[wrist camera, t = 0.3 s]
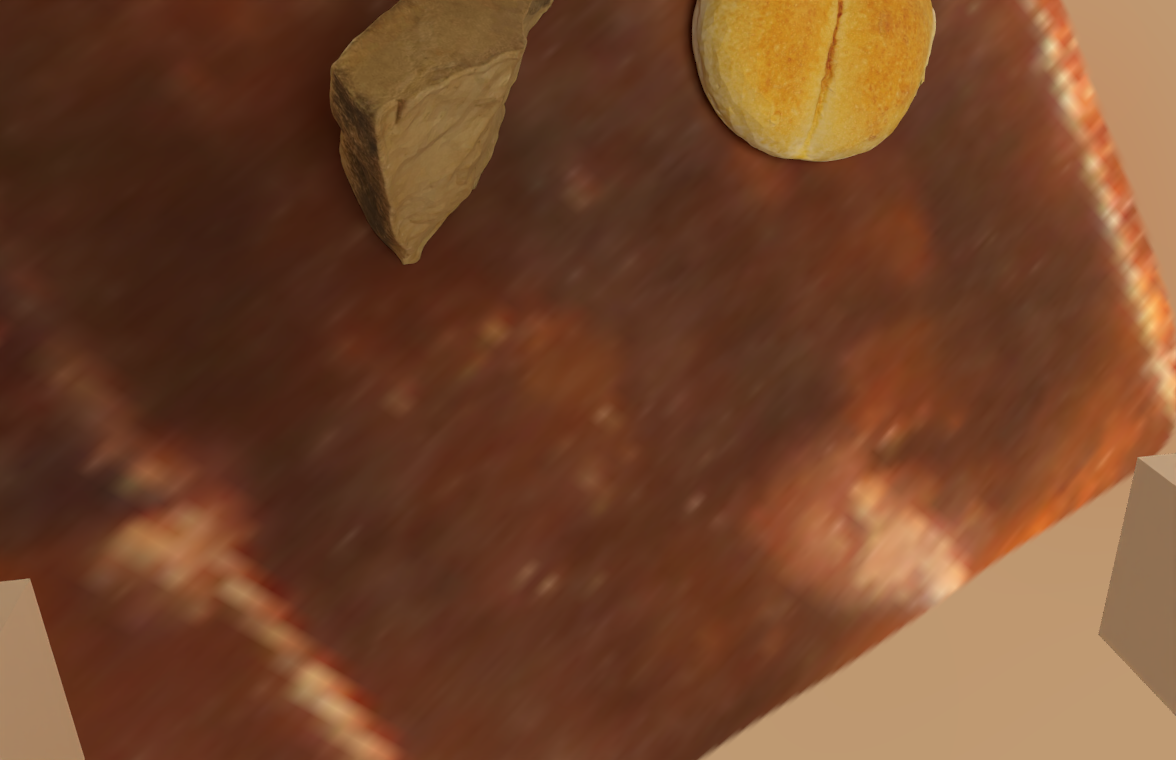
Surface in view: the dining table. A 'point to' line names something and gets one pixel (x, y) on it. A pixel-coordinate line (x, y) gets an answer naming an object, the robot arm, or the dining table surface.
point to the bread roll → (812, 70)
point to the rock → (425, 108)
